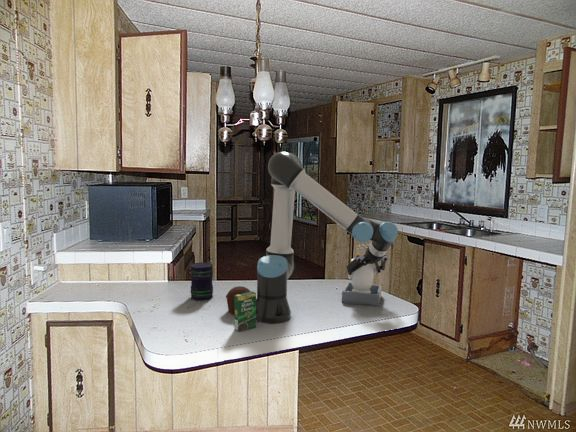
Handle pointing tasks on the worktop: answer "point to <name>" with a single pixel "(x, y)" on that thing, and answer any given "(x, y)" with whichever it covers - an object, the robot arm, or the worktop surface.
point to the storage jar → (201, 281)
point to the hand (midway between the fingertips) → (360, 277)
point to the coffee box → (245, 311)
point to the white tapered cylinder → (363, 279)
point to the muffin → (231, 296)
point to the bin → (361, 295)
